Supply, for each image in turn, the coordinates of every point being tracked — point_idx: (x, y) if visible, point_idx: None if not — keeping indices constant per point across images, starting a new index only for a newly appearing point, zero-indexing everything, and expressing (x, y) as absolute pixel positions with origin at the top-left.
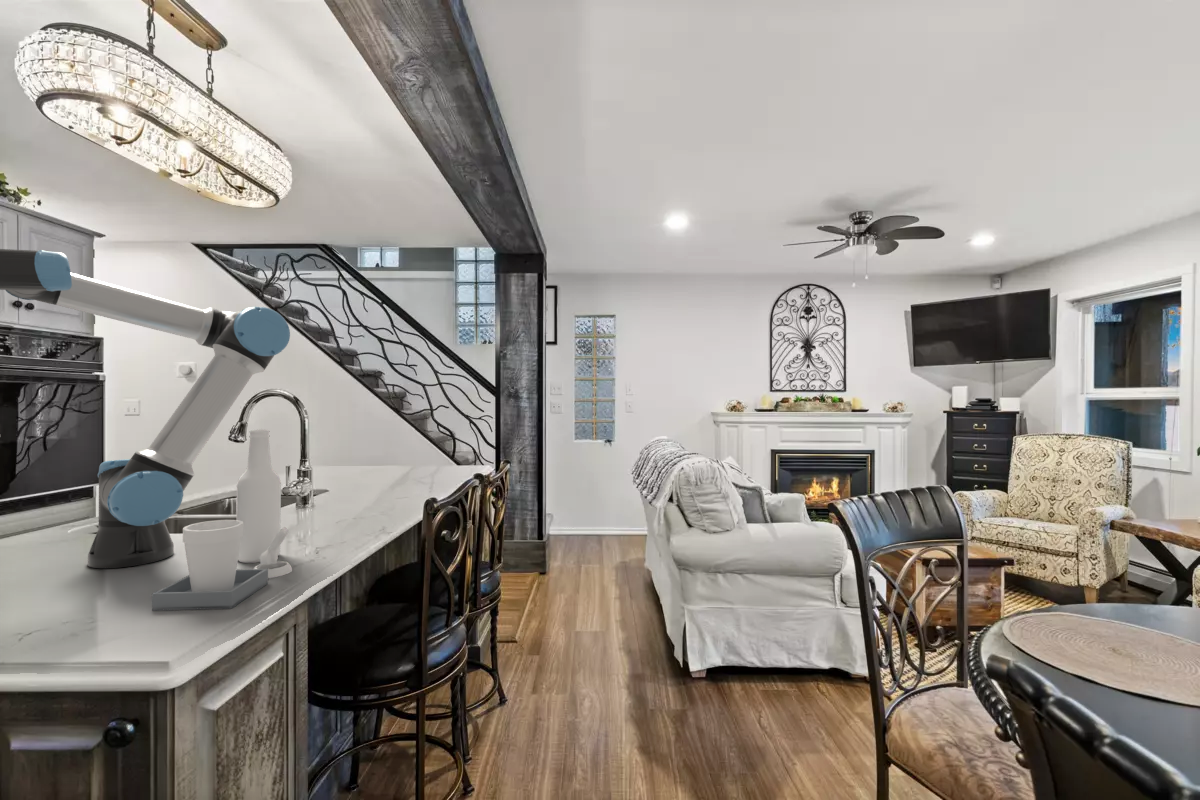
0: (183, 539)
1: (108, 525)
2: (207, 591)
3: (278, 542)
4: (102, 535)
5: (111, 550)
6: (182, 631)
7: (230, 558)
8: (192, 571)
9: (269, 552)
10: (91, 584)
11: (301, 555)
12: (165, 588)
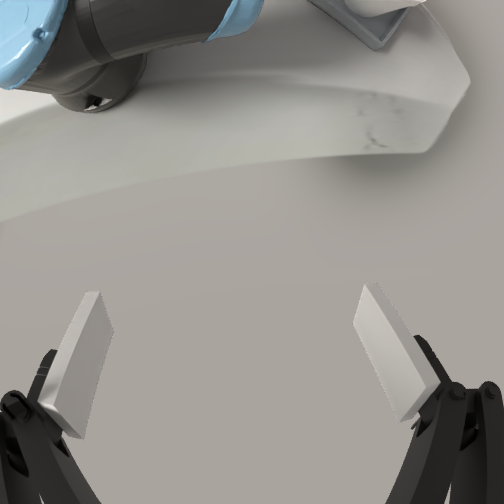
0: (406, 4)
1: (101, 72)
2: (402, 14)
3: None
4: (101, 84)
5: (129, 73)
6: (434, 53)
7: None
8: (390, 11)
9: None
10: (212, 90)
11: None
12: (371, 33)
